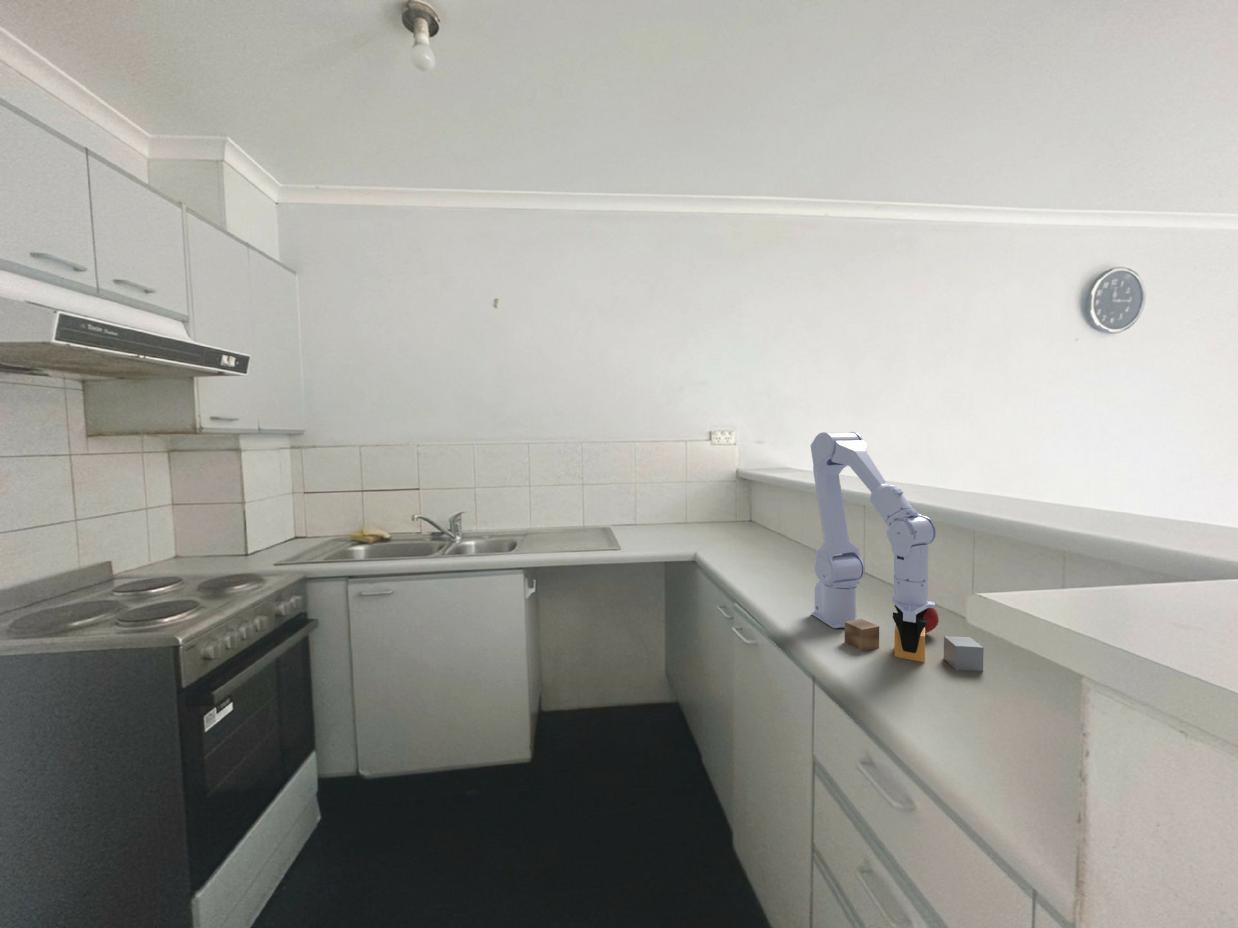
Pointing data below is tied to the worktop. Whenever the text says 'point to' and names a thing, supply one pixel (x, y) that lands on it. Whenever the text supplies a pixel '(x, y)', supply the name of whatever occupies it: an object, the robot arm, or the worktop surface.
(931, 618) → the onion
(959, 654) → the slate block
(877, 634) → the walnut block
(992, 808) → the worktop surface
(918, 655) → the orange block
